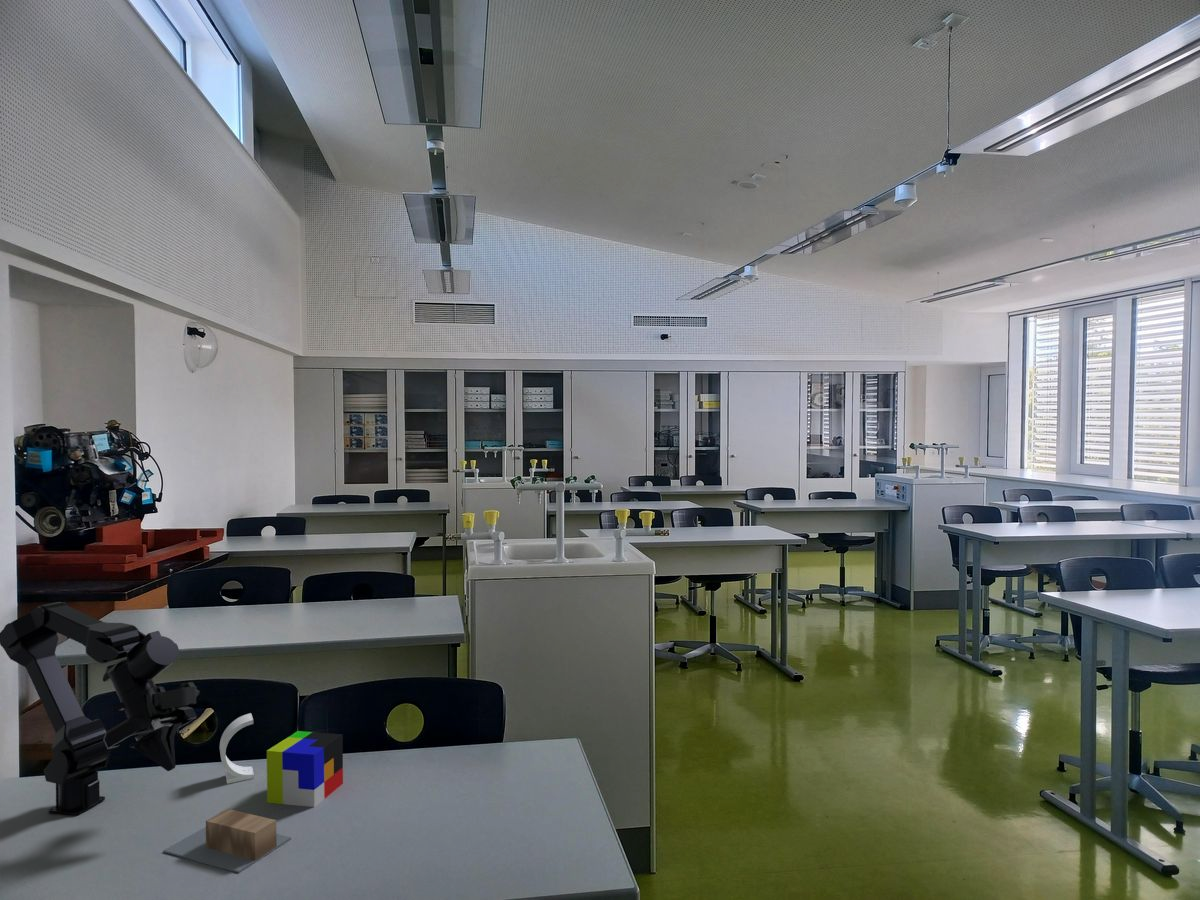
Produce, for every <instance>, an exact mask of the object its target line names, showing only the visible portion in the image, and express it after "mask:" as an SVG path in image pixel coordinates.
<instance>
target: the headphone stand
mask: <svg viewBox="0 0 1200 900" xmlns="http://www.w3.org/2000/svg"><path fill="white" fill-rule="evenodd" d="M251 725H254V718H253V715H252V713H251V712H250V713H247V714H244V715H240V716H239V717H237V718H236V719H234V720H233V721H231V723H230V724H229V725H227V727H226V728H225V729H224V731H223V732H222V734H221V737H220V741H219V753H220V760H221V764H222V766H223V768H224V769H225V774H224V775H225V780H226V784H227V785H229V784H233V783H238V782H242V781H243V782H244V781H247V780H252V779H255V774H254V769H253V766H241V765H237V764H235V763H234V762H232V761H231V760H230V759H229V757H227V753H226V752H227V747H228V744H229V743H230V740H231V739H232V737H233V736H234V735H235V734H236V733H237V732H238V731H240V730H242V729H243V728H246V727H247V726H251Z"/></svg>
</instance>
